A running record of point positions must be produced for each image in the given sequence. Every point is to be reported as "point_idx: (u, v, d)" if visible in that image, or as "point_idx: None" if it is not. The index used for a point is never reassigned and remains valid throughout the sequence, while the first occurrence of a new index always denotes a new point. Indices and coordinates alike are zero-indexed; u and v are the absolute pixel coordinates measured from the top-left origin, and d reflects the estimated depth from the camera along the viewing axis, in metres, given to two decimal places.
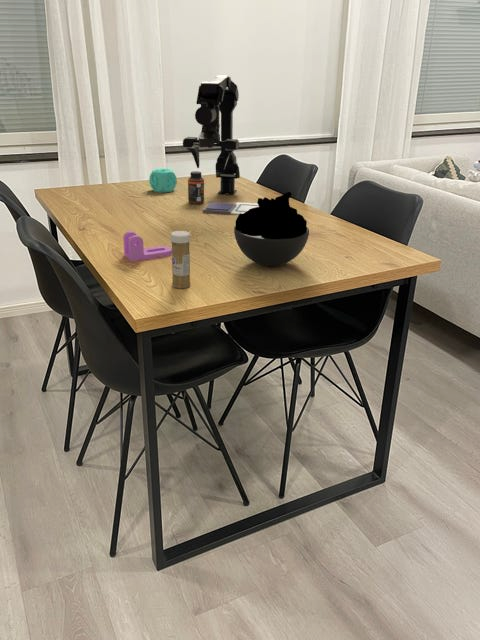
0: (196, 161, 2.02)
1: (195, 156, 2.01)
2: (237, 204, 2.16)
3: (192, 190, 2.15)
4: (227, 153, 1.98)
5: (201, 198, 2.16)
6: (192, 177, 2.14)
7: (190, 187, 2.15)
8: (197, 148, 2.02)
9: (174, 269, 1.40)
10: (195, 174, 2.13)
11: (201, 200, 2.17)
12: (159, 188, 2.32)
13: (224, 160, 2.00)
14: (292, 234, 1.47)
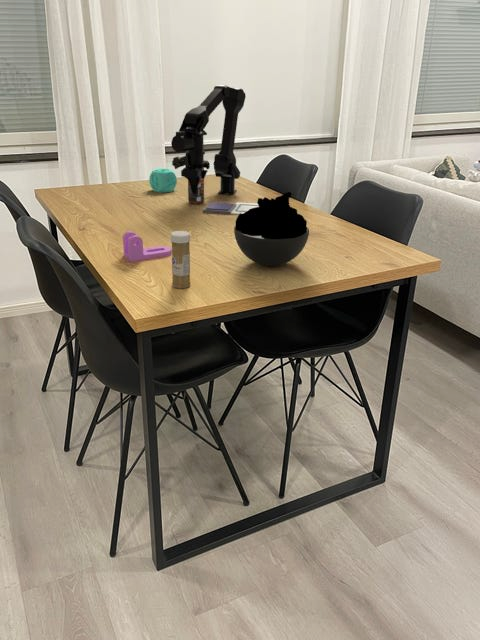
0: None
1: None
2: (237, 204, 2.16)
3: None
4: None
5: (201, 198, 2.16)
6: None
7: (190, 187, 2.15)
8: (201, 172, 2.18)
9: (174, 269, 1.40)
10: None
11: (201, 200, 2.17)
12: (159, 188, 2.32)
13: None
14: (292, 234, 1.47)
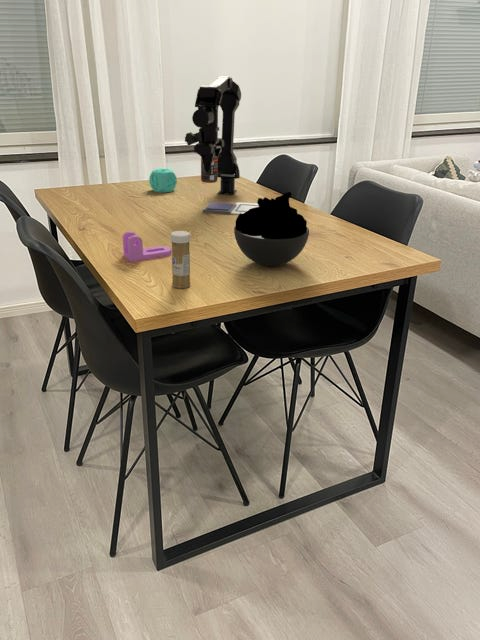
0: None
1: None
2: (237, 204, 2.16)
3: None
4: None
5: (214, 177, 2.07)
6: None
7: (203, 165, 2.05)
8: (215, 150, 2.08)
9: (174, 269, 1.40)
10: None
11: (214, 179, 2.07)
12: (159, 188, 2.32)
13: None
14: (292, 234, 1.47)
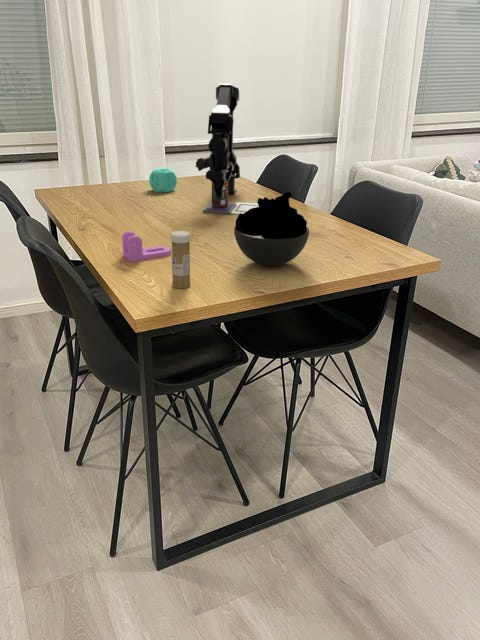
0: None
1: None
2: (237, 204, 2.16)
3: None
4: None
5: (225, 201, 2.07)
6: None
7: (214, 190, 2.05)
8: None
9: (174, 269, 1.40)
10: None
11: (225, 203, 2.07)
12: (159, 188, 2.32)
13: None
14: (292, 234, 1.47)
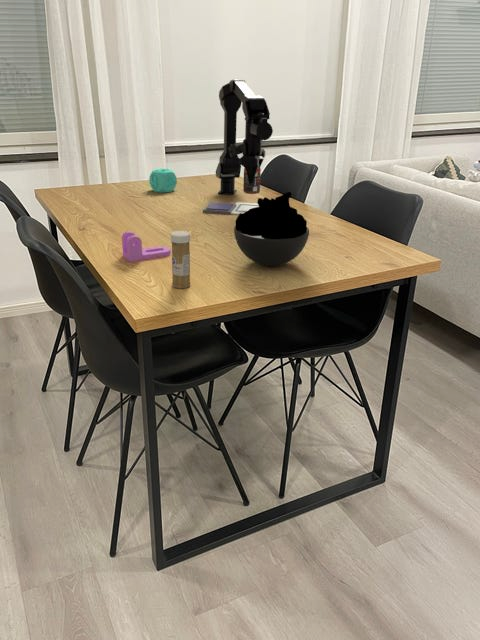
0: None
1: None
2: (237, 204, 2.16)
3: None
4: None
5: (257, 188, 2.06)
6: None
7: (246, 176, 2.04)
8: None
9: (174, 269, 1.40)
10: None
11: (257, 190, 2.06)
12: (159, 188, 2.32)
13: None
14: (292, 234, 1.47)
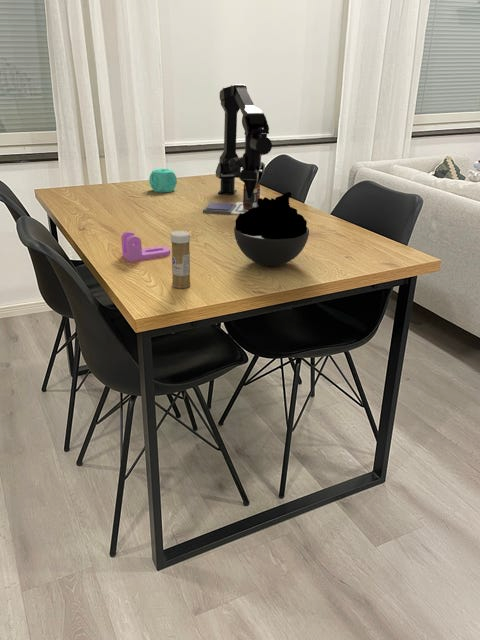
0: None
1: None
2: (237, 204, 2.16)
3: None
4: None
5: (257, 204, 2.08)
6: None
7: (246, 192, 2.07)
8: None
9: (174, 269, 1.40)
10: None
11: (257, 206, 2.09)
12: (159, 188, 2.32)
13: None
14: (292, 234, 1.47)
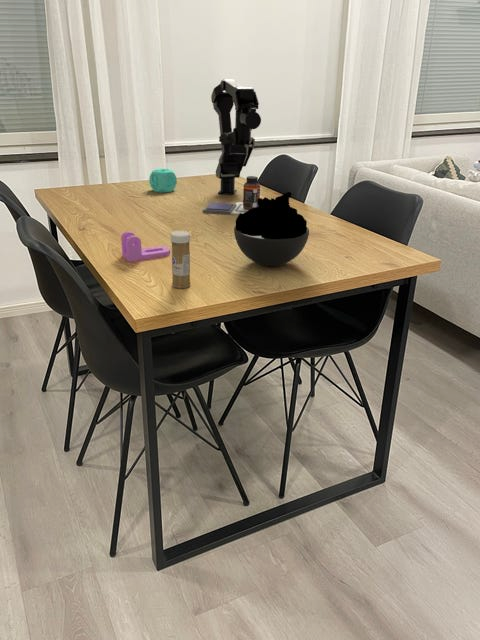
0: None
1: None
2: (237, 204, 2.16)
3: (248, 195, 2.06)
4: None
5: (257, 204, 2.08)
6: (248, 182, 2.06)
7: (246, 193, 2.07)
8: (247, 148, 2.16)
9: (174, 269, 1.40)
10: (252, 179, 2.05)
11: (257, 206, 2.09)
12: (159, 188, 2.32)
13: None
14: (292, 234, 1.47)
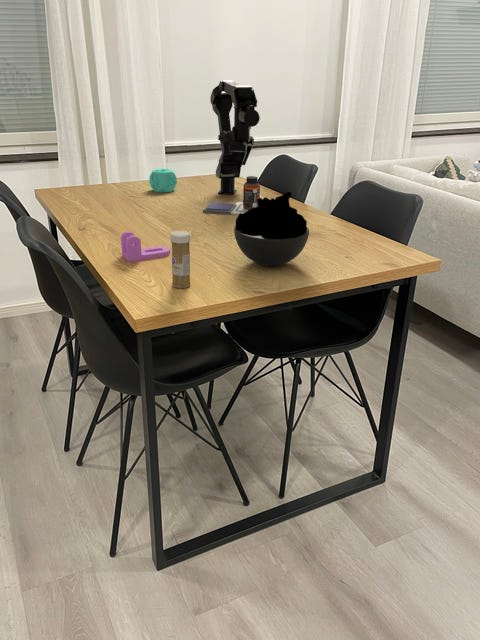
0: None
1: None
2: (237, 204, 2.16)
3: (248, 195, 2.06)
4: None
5: (257, 204, 2.08)
6: (248, 182, 2.06)
7: (246, 193, 2.07)
8: (246, 147, 2.17)
9: (174, 269, 1.40)
10: (252, 179, 2.05)
11: (257, 206, 2.09)
12: (159, 188, 2.32)
13: None
14: (292, 234, 1.47)
